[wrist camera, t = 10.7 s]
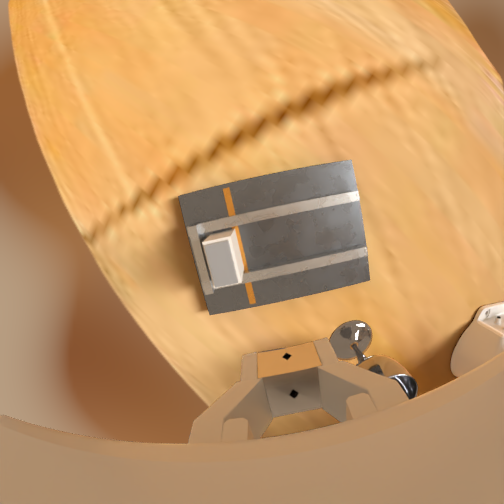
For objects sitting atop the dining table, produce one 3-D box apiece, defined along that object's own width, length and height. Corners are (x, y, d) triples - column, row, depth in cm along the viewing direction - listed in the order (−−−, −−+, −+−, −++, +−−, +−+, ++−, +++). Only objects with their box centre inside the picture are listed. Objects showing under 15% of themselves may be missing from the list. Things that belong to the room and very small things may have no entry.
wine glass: (317, 354, 40) (340, 423, 26) (342, 310, 39) (381, 369, 24) (358, 367, 41) (391, 429, 26) (383, 326, 39) (429, 380, 25)
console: (346, 161, 34) (359, 157, 30) (364, 276, 38) (378, 287, 33) (182, 195, 36) (171, 196, 31) (211, 309, 39) (206, 325, 34)
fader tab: (234, 228, 34) (229, 237, 28) (244, 267, 35) (241, 285, 29) (211, 233, 34) (200, 243, 28) (220, 272, 35) (213, 290, 29)
